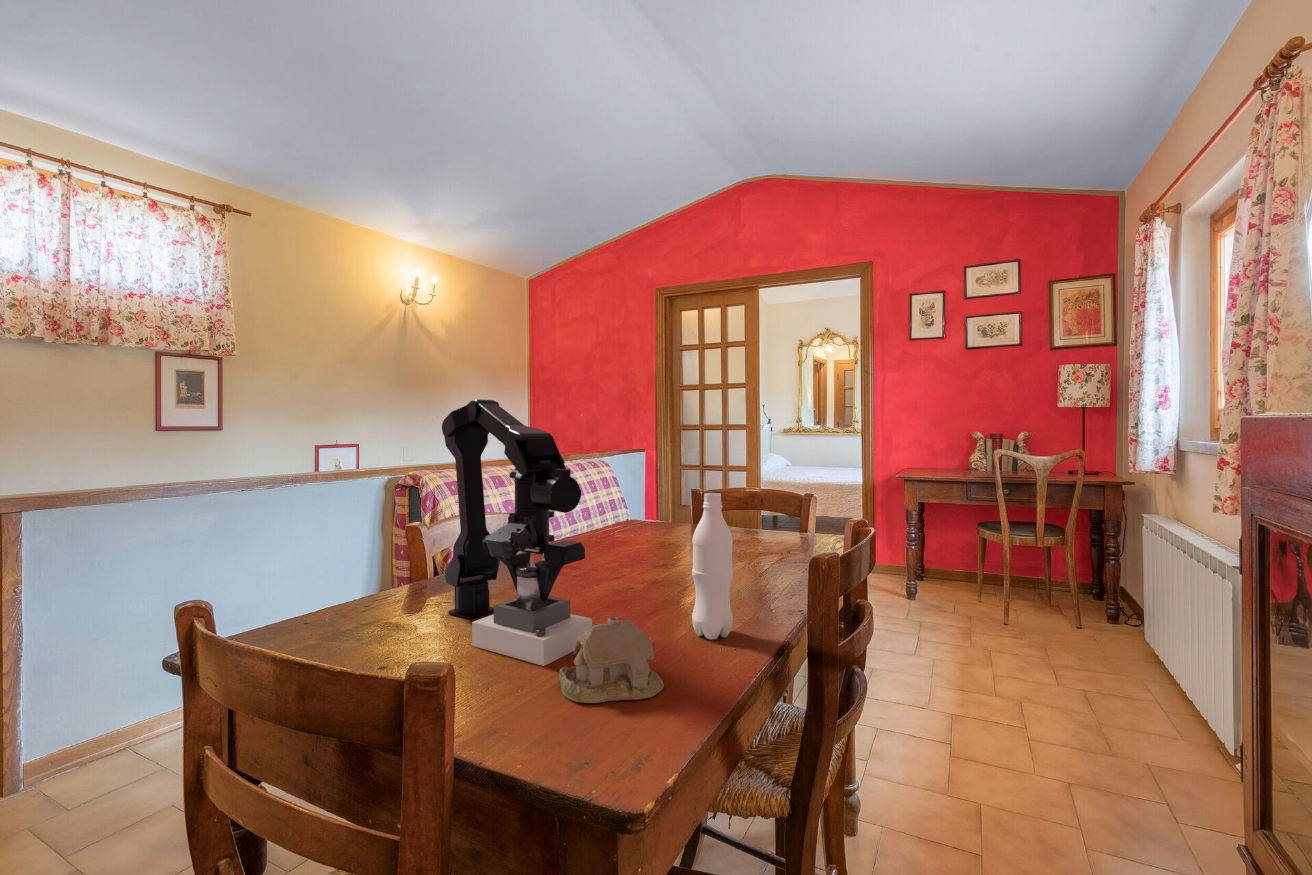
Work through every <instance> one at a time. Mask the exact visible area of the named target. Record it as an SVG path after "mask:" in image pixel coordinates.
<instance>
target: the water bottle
mask: <svg viewBox="0 0 1312 875" xmlns="http://www.w3.org/2000/svg"><path fill="white" fill-rule="evenodd" d="M703 496H704V497H703V505H702V508H703V512H702V515H701V518H700V520H699V522H698V523H697V526H696V528H695V530H694V532H693V536H692V542H691V543H692V569H691V571H692V572H691V574H692V575H691V576H692V579H693V582H694V587H695V588H694V590H695V600H694V601H695V602H694V606H693V610H692V613H691V614H692V615H691V618H692V619H691V621H692V622H691V623H692V626H693V629H694V632H695V634H696V636H698V637H702V636H704V637H705V638H706V639H707V640H712V641H714V640H717V639H718V638H719V636H721V637H722V638H727V637H728V636H729V635H730V632H731V630H732V628H733V620H734V617H733V612H732V609H731V605H730V602H731V601H730V594H731V593H730V592H731V584H732V581H733V578H734V569H733V544H734V540H733V539H734V538H733V535H732V533H731V529H730V527H729V526H728V524H727V522H726V520H725V518H724V516H723V511H722V509H723V508H724V506H723V502H722V494H721V493H718V492H705V493H704V494H703Z"/></svg>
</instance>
